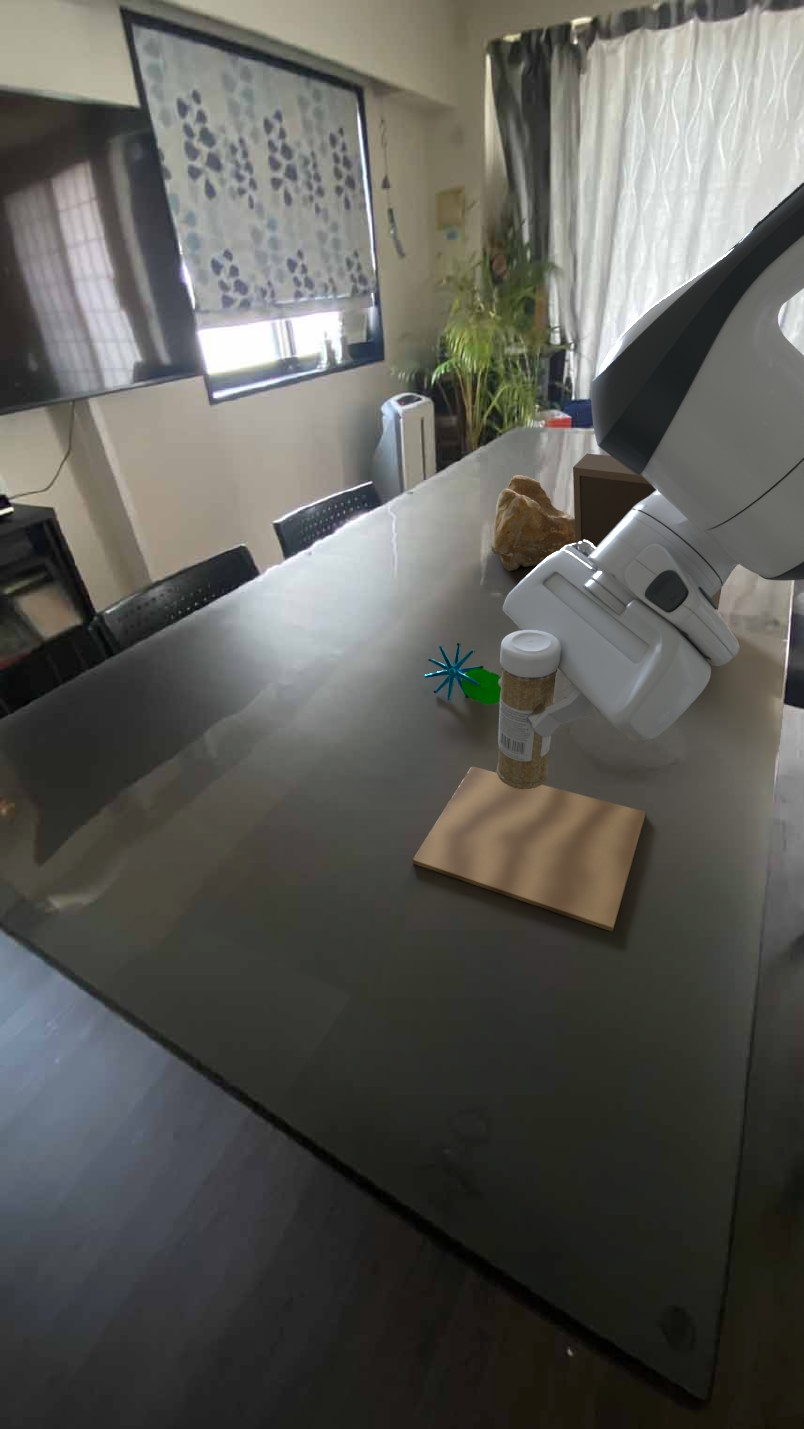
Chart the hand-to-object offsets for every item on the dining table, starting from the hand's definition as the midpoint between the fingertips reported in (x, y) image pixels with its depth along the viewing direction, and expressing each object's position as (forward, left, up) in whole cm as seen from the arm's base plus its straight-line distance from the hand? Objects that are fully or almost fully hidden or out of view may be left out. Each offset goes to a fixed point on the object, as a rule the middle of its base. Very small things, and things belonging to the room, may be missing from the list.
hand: (519, 710), depth 52 cm
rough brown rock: (+23, -78, -20) cm, 83 cm away
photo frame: (0, -56, -20) cm, 59 cm away
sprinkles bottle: (0, 0, -7) cm, 7 cm away
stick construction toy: (+17, -29, -20) cm, 39 cm away
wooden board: (0, -5, -20) cm, 20 cm away
